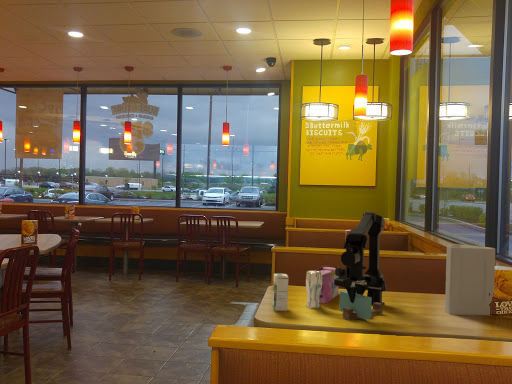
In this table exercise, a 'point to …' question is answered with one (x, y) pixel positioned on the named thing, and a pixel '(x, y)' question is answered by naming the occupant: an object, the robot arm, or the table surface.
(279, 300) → the syrup box
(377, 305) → the walnut rail
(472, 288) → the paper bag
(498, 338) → the table surface
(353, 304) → the teal plate
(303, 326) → the table surface
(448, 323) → the table surface
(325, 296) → the gum box
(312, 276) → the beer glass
